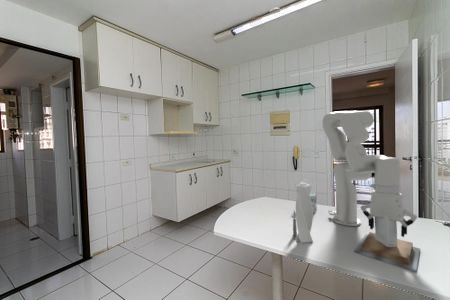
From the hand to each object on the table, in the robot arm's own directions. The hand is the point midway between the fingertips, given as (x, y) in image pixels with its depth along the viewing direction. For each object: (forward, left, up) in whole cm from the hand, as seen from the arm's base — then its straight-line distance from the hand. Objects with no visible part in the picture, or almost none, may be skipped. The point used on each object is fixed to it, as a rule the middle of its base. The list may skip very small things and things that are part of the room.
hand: (386, 231), depth 80 cm
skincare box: (0, 0, -5) cm, 5 cm away
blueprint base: (0, 0, -8) cm, 8 cm away
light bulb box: (-43, +23, -8) cm, 49 cm away
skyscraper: (-28, -12, -8) cm, 32 cm away
